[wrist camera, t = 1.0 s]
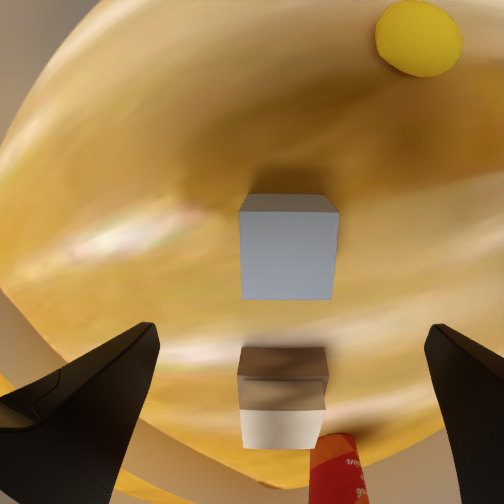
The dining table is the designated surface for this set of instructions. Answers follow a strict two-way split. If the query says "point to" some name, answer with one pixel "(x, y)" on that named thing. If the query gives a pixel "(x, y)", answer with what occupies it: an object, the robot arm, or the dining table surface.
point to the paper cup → (336, 472)
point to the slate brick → (287, 246)
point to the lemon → (418, 38)
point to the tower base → (282, 365)
